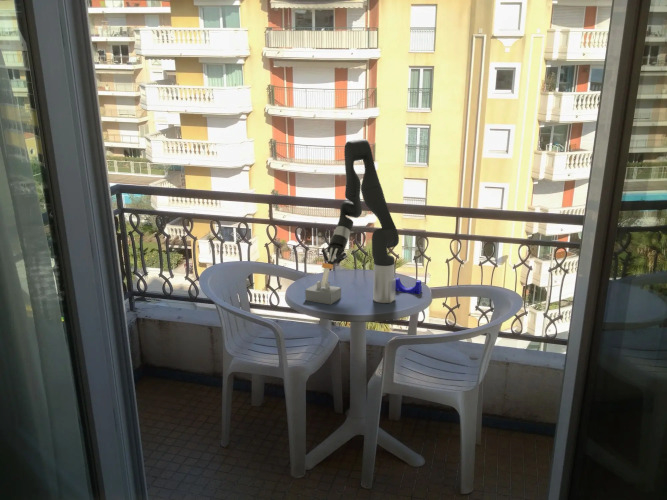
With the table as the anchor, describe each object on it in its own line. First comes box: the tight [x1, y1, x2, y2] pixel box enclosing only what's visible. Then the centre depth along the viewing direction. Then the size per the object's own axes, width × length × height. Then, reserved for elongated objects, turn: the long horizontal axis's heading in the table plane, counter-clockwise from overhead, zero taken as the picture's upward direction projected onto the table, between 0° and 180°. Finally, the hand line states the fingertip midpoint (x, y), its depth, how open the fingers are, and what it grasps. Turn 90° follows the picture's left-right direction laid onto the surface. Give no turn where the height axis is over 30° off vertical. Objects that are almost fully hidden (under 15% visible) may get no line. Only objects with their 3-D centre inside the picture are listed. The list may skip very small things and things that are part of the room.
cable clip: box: [394, 277, 423, 295], centre depth 281 cm, size 12×4×6 cm, turn 65°
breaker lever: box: [321, 262, 334, 287], centre depth 270 cm, size 4×2×10 cm, turn 63°
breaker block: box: [304, 280, 342, 305], centre depth 269 cm, size 13×10×8 cm
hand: (328, 269), depth 272 cm, fingers closed
